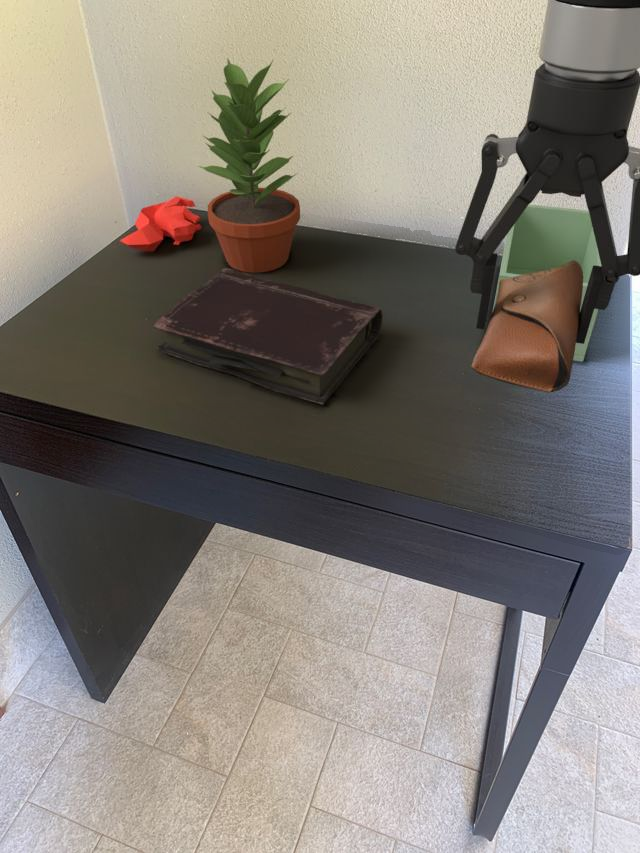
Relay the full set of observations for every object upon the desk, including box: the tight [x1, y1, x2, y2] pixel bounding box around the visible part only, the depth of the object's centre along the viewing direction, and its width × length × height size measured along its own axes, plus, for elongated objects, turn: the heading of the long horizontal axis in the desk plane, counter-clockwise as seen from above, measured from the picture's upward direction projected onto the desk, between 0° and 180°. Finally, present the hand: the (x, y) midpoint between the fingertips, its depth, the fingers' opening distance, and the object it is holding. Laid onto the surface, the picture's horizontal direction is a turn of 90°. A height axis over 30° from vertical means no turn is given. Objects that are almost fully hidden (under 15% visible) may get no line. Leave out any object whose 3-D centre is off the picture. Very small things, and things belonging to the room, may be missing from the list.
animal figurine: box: [119, 196, 202, 252], centre depth 116 cm, size 12×15×5 cm
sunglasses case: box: [470, 260, 583, 394], centre depth 64 cm, size 18×7×7 cm
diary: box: [152, 267, 383, 406], centre depth 92 cm, size 19×25×5 cm
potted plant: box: [198, 57, 301, 274], centre depth 102 cm, size 15×15×30 cm
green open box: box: [491, 203, 602, 363], centre depth 96 cm, size 23×13×11 cm, turn 164°
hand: (530, 328), depth 65 cm, fingers closed on sunglasses case, 8 cm apart
